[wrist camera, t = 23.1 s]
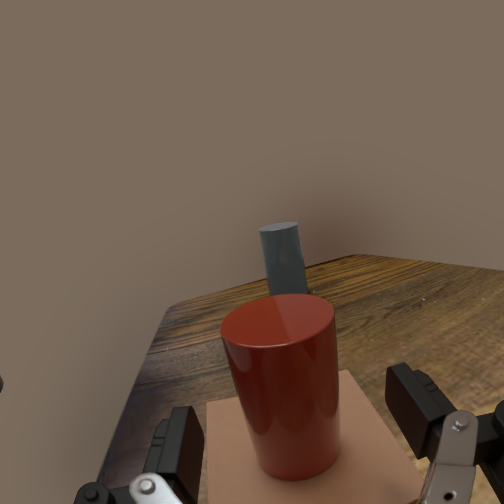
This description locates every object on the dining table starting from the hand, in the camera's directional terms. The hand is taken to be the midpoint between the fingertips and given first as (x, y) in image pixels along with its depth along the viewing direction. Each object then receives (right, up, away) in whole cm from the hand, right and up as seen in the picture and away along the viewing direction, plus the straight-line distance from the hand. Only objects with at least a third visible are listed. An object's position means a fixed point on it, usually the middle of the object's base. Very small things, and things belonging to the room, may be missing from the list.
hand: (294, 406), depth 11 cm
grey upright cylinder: (+4, 0, +32) cm, 32 cm away
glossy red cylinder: (+1, -6, +5) cm, 8 cm away
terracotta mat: (+1, -7, +6) cm, 9 cm away
